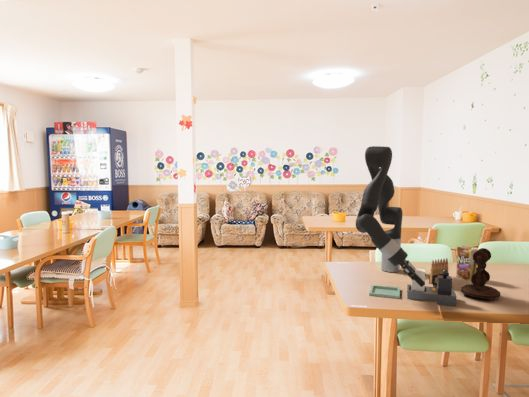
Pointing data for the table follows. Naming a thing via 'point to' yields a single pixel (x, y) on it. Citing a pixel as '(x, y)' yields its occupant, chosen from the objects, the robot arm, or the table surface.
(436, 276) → the ammunition clip
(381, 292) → the tray
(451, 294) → the grey charging dock
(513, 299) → the table surface
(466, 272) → the candy box
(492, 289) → the turned wooden stand
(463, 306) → the table surface
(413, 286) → the plug
